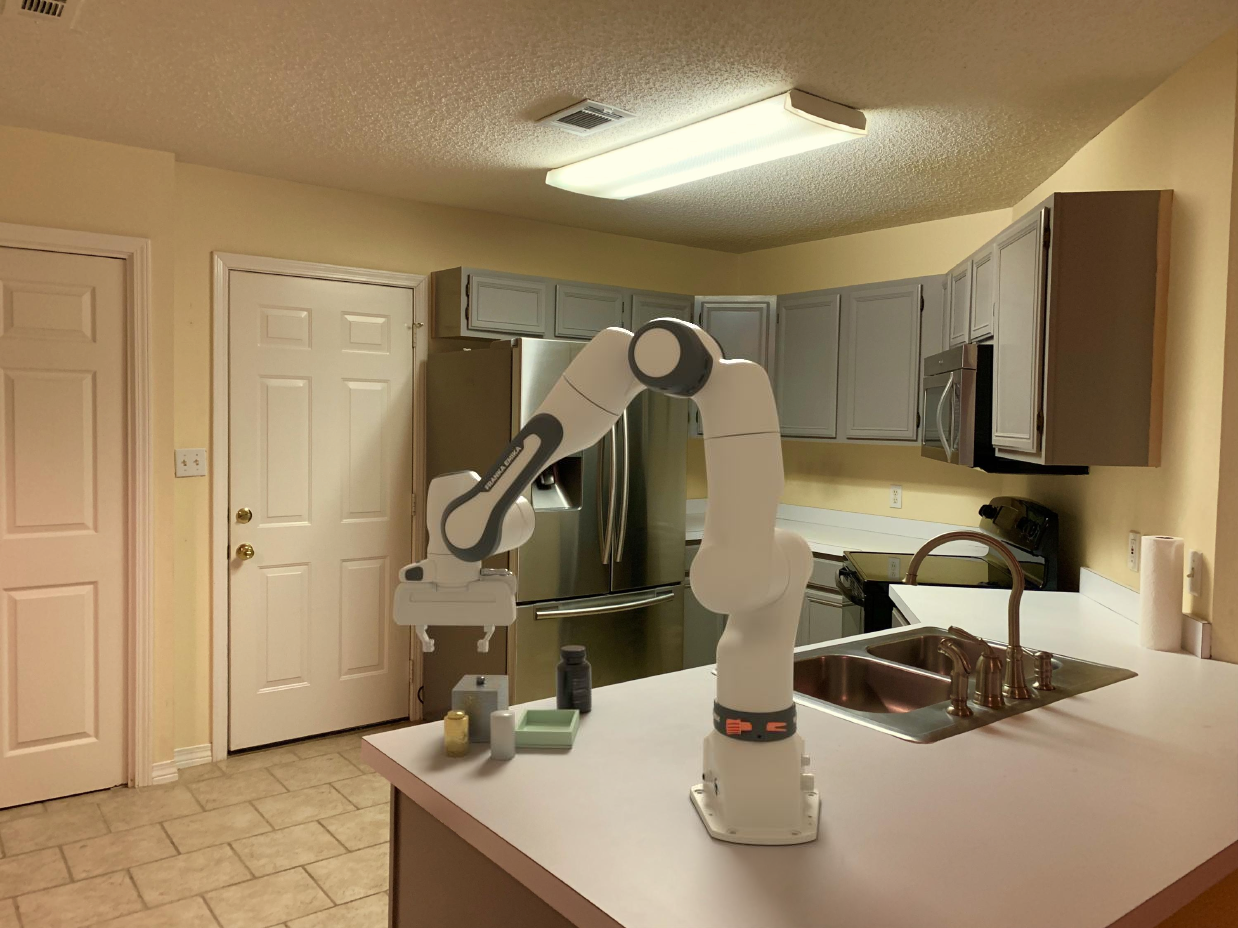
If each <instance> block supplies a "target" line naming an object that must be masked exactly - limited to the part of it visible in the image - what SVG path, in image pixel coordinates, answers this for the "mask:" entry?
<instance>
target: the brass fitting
mask: <svg viewBox="0 0 1238 928" xmlns="http://www.w3.org/2000/svg"><path fill="white" fill-rule="evenodd" d="M443 723H444V724H443V725H444V727H443V729H444V734H443V735H444V736H443V737H444V738H443V739H444V743H443V745H444V756H446V757H450V758H461V757H464V756H467V755H468V754H469V752H470V744H469V743H470V742H469V718H468V715H466V714H465V712H464V711H462V710H453V711H452V710H449V711H448V712H447V715H445V716H444V718H443Z"/></svg>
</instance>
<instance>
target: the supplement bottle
mask: <svg viewBox="0 0 1238 928" xmlns="http://www.w3.org/2000/svg"><path fill="white" fill-rule="evenodd" d="M586 653H587V652H586V647H585V646H583V645H573V644H572V645H566V646H562V647H561V648H560V658H559V659H561V660H560V661H558V663H556V667H555V691H556V693H555V694H556V695H555V697H556V698H555V699H556V709H557V710H579V715H580V714H585V713H587V712H589V711H591V709H592V705H593V697H592V696H593V695H592V692H593V691H592V666H591V663H590V662H589V661H587V660H586V657H587V654H586Z"/></svg>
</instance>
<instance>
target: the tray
mask: <svg viewBox="0 0 1238 928" xmlns="http://www.w3.org/2000/svg"><path fill="white" fill-rule="evenodd" d="M579 727H580V714H579V710H557V708H555V709H550V708H549V709H548V708H546V709H544V708H542V709H541V708H539V709H538V708H535V709H534V708H524V709H523V712H522V713H521V715H520V717H519V719H518V721H517V723H516V724H515V748H534V749H536V748H537V749H542V748H543V749H545V748H546V749H573V746H574V744H575V743H574V742H575V739H576V736H577V733H578V731H579Z"/></svg>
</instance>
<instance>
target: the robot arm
mask: <svg viewBox="0 0 1238 928" xmlns="http://www.w3.org/2000/svg"><path fill="white" fill-rule="evenodd" d="M646 389H649V390H651V391H652V392H657V393H661V394H663V395H665V396H668V397H672V398H677V399H688V400H689V399H691V400H693V402H695V404H696V405H697V408H698V409H699V412H700V416H701V422H702V434H703V436H702V437H703V445H704V457H705V467H706V468H705V469H706V481H707V503H706V512H705V518H704V519H705V520H704V525H703V532H702V538H701V542H700V546H699V549H698V551H697V553H696V554H695V556H694V558H693V560H692V561H691V565H690V568H689V569H690V570H689V584H690V587H691V591H692V593H693V594H694V597H695V599H696V600H697V601H698V602H699V604H700V605H701V606H703V607H704V608H705V609H706V610H709V611H711V612H713V613H717V614H723V615H728V617H727V622H726V626H725V628H724V629H723V630H724V631H723V633H722V635H721V637H720V639H719V641H718V643H717V645H716V646H717V647H716V697H715V698H714V700H713V707H712V716H713V719H712V720H713V721H712V723H713V729H712V730H711V731H710V732H709V733H708V734H707V735H705V737H703V742H702V745H703V746H702V747H703V748H702V749H703V750H702V774H701V775H702V777H701V778H702V779H701V780H702V783H698V784H696V785H693V786H691V787H690V789H689V797H690V798H691V801H692V802H693V803H692V804H693V805H694V807H695V809H696V810H697V812H698V814H699V816H700V818H701V820H702V822H703V823H704V826H705V827H706V829H707V831H708V833H709V835H710V836H711V837H712V838H714V839H718V840H721V841H726V842H731V843H737V844H746V845H747V844H749V845H767V846H768V845H770V846H771V845H773V846H775V845H776V846H777V845H780V846H781V845H794V844H802V843H807V842H811V841H814V840H816V839H817V835H818V827H819V826H818V824H819V814H820V813H819V812H820V806H821V805H820V803H821V795H820V794H821V793H820V790H819V789H817V788H815V784H814V783H815V774H814V773H809V772H805V771H806V768H805V767H806V766H807V767H809V766H810V763H811V760H810V759H811V758H810V755H806V741H805V739H804V738H802V736H801V735H799V734H798V732H797V728H798V726H797V719H798V712H797V704H796V702H795V701H794V656H795V655H794V653H795V645H796V637H797V633H798V627H799V621H800V617H801V611H802V607H803V602H804V601H803V600H804V595H805V592H806V589H807V585H808V582H809V580H810V578H811V577H812V574H813V571H814V567H815V566H814V563H815V561H814V555H813V551H812V549H811V547H810V545H809V543H808V542H807V541H806V540H805V539H804V538H803V536H801V535H799V534H798V533H795V532H794V531H790V530H787V529H784V528H780V527H776V524H777V523H776V522H777V514H778V508H779V504H780V500H781V497H782V495H783V493H784V491H785V487H786V481H785V470H784V460H783V459H784V458H783V451H782V450H783V449H782V439H781V431H780V421H779V415H778V409H777V405H776V399H775V396H774V392H773V388H772V386H771V382H770V378H769V376H768V373H767V372H766V370H765V369H764V367H762V366H761V364H758V363H757V362H753V361H751V360H746V359H731V360H729V359H728V360H727V355H726V352H725V350H724V348H723V347H722V345H721V343H720V341H718V340H717V338H715V337H714V336H713V335H711V334H710V333H708V332H706V331H704V330H703V329H702V328H700V327H699V326H697V325H695V324H694V323H693V324H692V323H690V322H687V321H683V320H681V319H677V318H672V317H661V318H656V319H653V320H650V321H647V322H646V323H645V324H643V325H641V326H640V327H639V328H638V330H637V331H635V333H632V332H630V331H629V330H626V329H624V328H620V327H607V328H605V329H602V330H601V331H600V332H598V334H596V335H595V336H594V337H593V338H592V339H591V340H590V341H589V342H588V343H586V345H585V346H584V347H583V348H582V349H581V351H580V352H579V353H578V354H577V355H576V356H575V358H574V359H573V360H572V361H571V362H570V363H569V365H568V367H567V368H566V369H565V370H564V372H563V373H562V374H561V377H560V378H559V379H558V380H557V382H556V383H555V385H554V386H553V387H552V389H551V390H550V391H549V393H548V395H547V396H546V397H545V399H544V400H543V401H542V403H541V405H539V407H538V408H537V410H536V411H534V414H533V415H532V416H531V417H530V418H529V420H528V421H527V422H526V423H525V425H524V426H523V427H522V428H521V429H520V431H518V432H517V434H516V435H515V436H514V437H513V438H512V440H511V441H510V442H509V443H508V444H507V446H506V447H505V449H503V450H502V452H501V453H500V455H498V457H497V458H496V460H495V461H494V462H493V463H492V465H490V467H489V468H488V469H487V470H486V472H485V473H484V474H483V476H482V477H480V475H479V474H478V473H477V472H475V471H472V470H459V471H452V472H446V473H441V474H439V475H437V476H435V477H434V478H433V479H431V482H430V484H429V487H428V491H427V500H426V501H427V502H426V526H427V527H426V528H427V530H428V534H429V541H428V545H427V549H426V550H427V551H426V552H427V553H426V554H427V555H426V557H427V558H426V559H421V560H420V559H419V560H418V561H416V562H414V563H413V562H412V563H410V564H408V565H405V566H403V567H402V568H401V569H400V570H399V571H398V579H399V581H400V582H401V583H399V584H398V585H397V587H395V591H394V596H393V603H392V604H393V606H392V619H393V621H394V623H396V624H397V625H398V626H415V633H416V634H417V637H418V638H419V639H420V640H421V643H422V652H423V653H427V652H428V653H429V652H430V653H431V652H434V650H435V645H434V643H435V640H434V639H433V638H432V639H431V638H429V636H428V634H427V632H426V630H427V629H428V626H475V627H476V626H477V627H478V626H479V627H480V626H483V632H484V633H486V634H485V636H484V638H483V639H479V640H478V641H477V643H476V644H477V653H487V652H488V651H489V640H490V639H491V637H492V635H493V634H494V632H495V630H496V629H495V628H496V627H497V626H498V627H500V626H503V627H504V626H505V627H507V626H511V625H512V624H513V623H514V622H515V620H516V619H517V604H516V597H515V594H516V593H517V591H518V590H517V589H518V579H517V576H516V575H515V573H514V572H511V571H510V570H509V569H507V568H499V569H497V568H482V561H483V560H485V559H487V558H490V557H491V556H494V555H497V554H501V553H504V552H505V553H506V552H508V551H511V550H514V549H516V548H519V547H522V545H525V544H526V543H527V542H528V541H529V540H530V539H531V538H532V536H533V535H534V532H535V529H536V526H537V525H536V524H537V518H536V512H535V509H534V506H533V505H532V503H531V502H530V500H529V499H528V498H526V497H525V496H524V495H523V494H525V492H526V491H527V490H528V488H530V486H531V485H532V484H533V482H534V481H535V480H536V479H537V478H538V476H539V475H540V474H541V473H542V472H543V471H544V470H545V469H547V468H548V467H549V466H550V465H552V464H554V463H556V462H558V461H559V460H561V459H563V458H565V457H567V456H570V455H573V454H576V453H577V452H581V451H583V450H586V449H588V448H590V447H592V446H594V445H596V443H597V442H599V441H600V440H601V439H602V438H603V437H604V436H605V435H606V434H607V433H608V432H609V431H610V430H611V429H612V428H613V427H614V425H616V422H617V421H619V419H620V417H621V416H622V414H623V413H624V412H625V411H626V409H627V407H628V406H629V405H630V404H631V402H632V401H633V400H634V398H635V397H636V396H637V395H638V394H639V393H640V392H643V391H644V390H646Z"/></svg>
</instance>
